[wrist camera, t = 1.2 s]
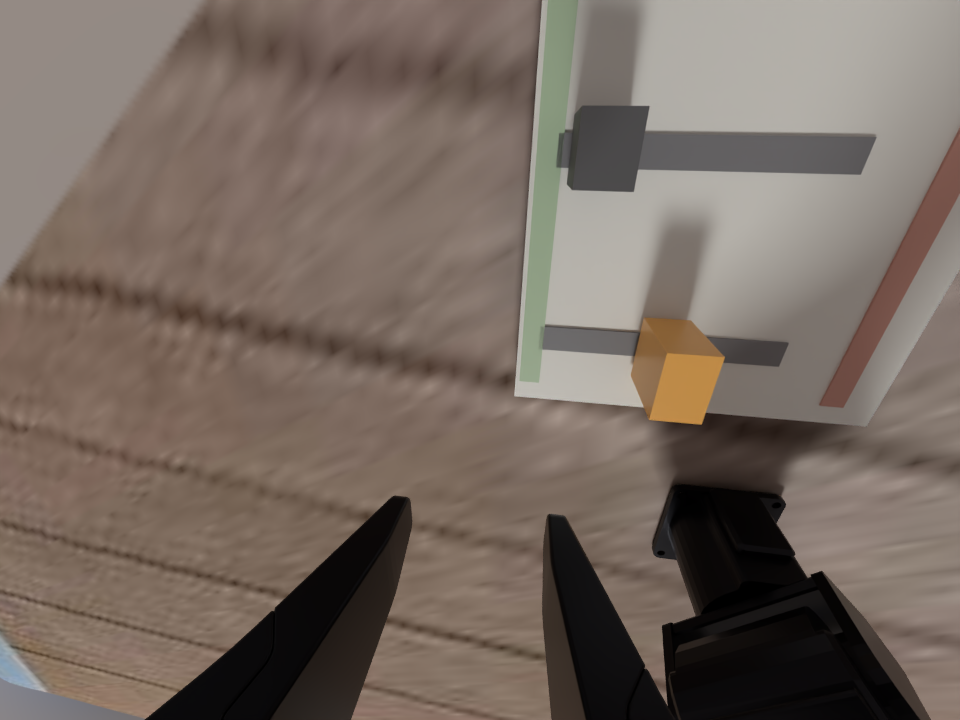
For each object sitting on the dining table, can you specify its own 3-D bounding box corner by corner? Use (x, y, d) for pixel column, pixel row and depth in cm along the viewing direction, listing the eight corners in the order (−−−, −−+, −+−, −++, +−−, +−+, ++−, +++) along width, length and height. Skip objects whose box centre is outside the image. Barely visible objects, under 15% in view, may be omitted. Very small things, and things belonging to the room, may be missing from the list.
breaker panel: (838, 403, 21) (919, 470, 16) (516, 377, 22) (510, 431, 18) (1173, -225, 11) (1604, -483, 6) (555, -181, 13) (565, -359, 8)
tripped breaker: (674, 379, 19) (701, 424, 15) (630, 375, 19) (649, 420, 16) (690, 320, 17) (724, 357, 14) (643, 317, 17) (666, 353, 14)
